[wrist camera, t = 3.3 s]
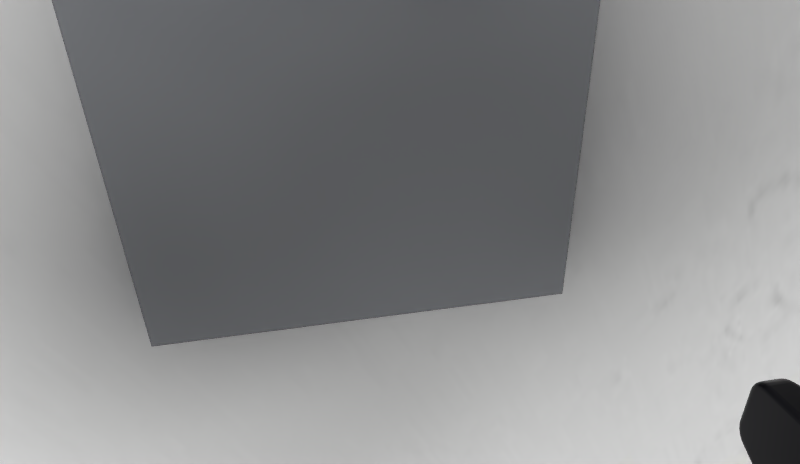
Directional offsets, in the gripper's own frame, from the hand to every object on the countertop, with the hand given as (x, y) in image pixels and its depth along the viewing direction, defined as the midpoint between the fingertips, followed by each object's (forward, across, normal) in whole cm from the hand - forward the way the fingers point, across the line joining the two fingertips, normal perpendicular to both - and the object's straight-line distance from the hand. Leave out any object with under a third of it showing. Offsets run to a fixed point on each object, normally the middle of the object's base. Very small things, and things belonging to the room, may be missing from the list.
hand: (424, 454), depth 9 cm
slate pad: (+11, 0, 0) cm, 11 cm away
